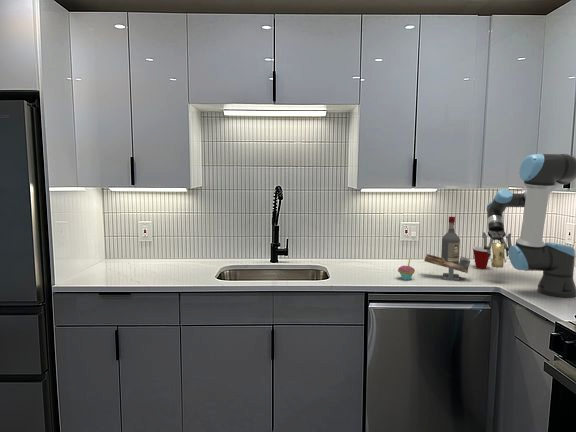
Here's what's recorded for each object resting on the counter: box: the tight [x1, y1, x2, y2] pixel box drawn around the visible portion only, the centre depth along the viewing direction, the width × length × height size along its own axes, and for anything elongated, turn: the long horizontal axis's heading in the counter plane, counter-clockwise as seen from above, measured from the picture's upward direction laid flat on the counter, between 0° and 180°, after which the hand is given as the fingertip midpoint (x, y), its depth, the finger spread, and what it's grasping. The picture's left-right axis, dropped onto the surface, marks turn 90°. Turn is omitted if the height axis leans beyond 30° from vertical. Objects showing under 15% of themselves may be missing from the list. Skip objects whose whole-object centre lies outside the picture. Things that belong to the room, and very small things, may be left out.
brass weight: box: [490, 242, 505, 269], centre depth 197 cm, size 6×6×12 cm
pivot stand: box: [442, 262, 460, 282], centre depth 206 cm, size 8×11×8 cm
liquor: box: [440, 216, 461, 265], centre depth 238 cm, size 9×9×30 cm
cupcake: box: [397, 258, 416, 281], centre depth 204 cm, size 9×8×12 cm
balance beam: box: [423, 253, 471, 274], centre depth 206 cm, size 22×8×6 cm, turn 67°
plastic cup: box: [472, 246, 490, 270], centre depth 229 cm, size 11×11×12 cm
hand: (498, 260), depth 194 cm, fingers closed on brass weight, 5 cm apart
